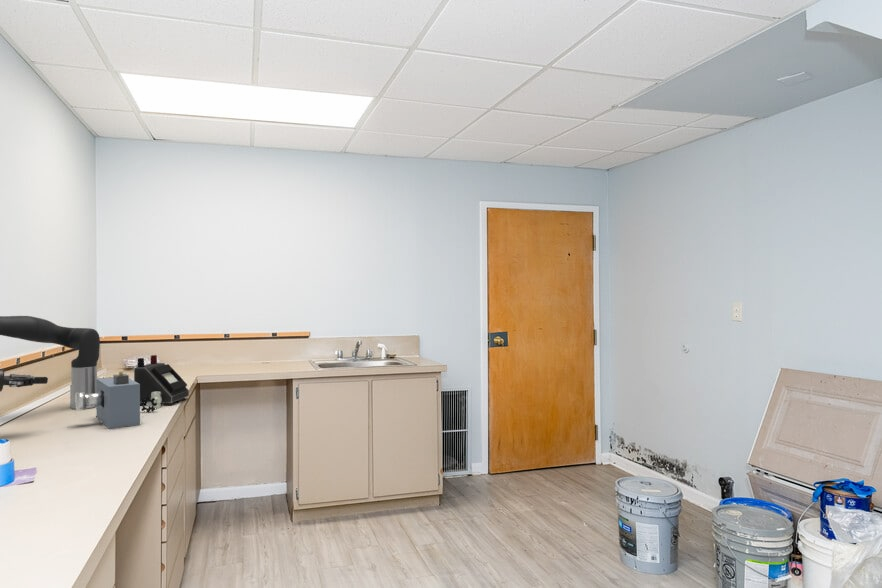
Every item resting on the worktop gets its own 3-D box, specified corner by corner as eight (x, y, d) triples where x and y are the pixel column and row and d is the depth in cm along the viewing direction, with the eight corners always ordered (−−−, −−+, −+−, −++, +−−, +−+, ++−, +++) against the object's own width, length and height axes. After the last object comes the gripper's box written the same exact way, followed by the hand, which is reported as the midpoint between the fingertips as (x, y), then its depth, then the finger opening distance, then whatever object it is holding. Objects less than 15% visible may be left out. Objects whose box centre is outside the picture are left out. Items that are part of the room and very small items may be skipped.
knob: (75, 409, 214) (74, 391, 213) (103, 405, 220) (103, 388, 219) (77, 411, 209) (77, 394, 209) (107, 408, 215) (107, 391, 215)
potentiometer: (113, 382, 216) (113, 369, 216) (125, 381, 218) (125, 368, 218) (116, 384, 212) (116, 370, 212) (128, 383, 214) (128, 369, 214)
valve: (149, 407, 246) (139, 413, 234) (149, 391, 246) (139, 396, 234) (166, 406, 247) (156, 412, 235) (166, 391, 247) (156, 396, 235)
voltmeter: (172, 406, 248) (172, 359, 248) (134, 405, 248) (133, 359, 248) (189, 398, 264) (189, 354, 264) (153, 398, 264) (153, 354, 264)
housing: (96, 417, 226) (96, 378, 226) (125, 413, 232) (125, 376, 232) (109, 428, 207) (109, 386, 207) (140, 424, 214) (139, 383, 214)
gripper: (-12, 372, 188) (52, 372, 200) (-16, 366, 198) (45, 367, 210) (-15, 395, 188) (49, 394, 200) (-19, 388, 198) (42, 387, 209)
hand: (47, 380), depth 205 cm, fingers closed
